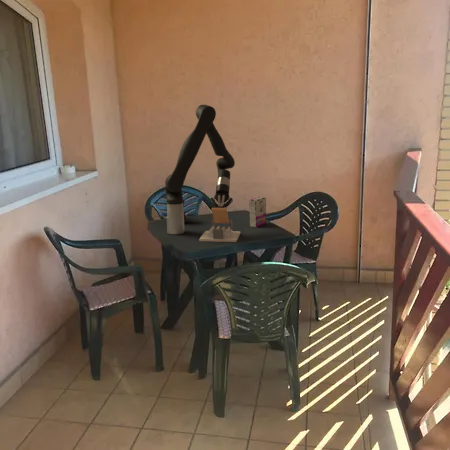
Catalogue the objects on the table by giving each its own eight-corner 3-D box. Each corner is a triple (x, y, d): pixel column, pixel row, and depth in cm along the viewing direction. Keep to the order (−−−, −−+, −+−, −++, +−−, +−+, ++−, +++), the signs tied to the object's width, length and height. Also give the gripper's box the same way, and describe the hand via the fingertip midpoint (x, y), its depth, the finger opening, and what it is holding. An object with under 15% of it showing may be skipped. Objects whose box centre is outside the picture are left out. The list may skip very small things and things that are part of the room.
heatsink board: (199, 241, 265) (198, 226, 264) (205, 232, 282) (205, 219, 280) (236, 242, 262) (235, 227, 260) (240, 233, 278) (240, 219, 277)
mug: (166, 219, 317) (165, 196, 313) (183, 217, 320) (182, 194, 316) (171, 225, 300) (169, 201, 296) (189, 223, 303) (188, 199, 299)
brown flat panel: (214, 223, 277) (211, 209, 266) (215, 221, 277) (211, 207, 267) (228, 223, 275) (226, 209, 265) (229, 222, 276) (226, 207, 266)
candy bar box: (259, 222, 302) (259, 196, 298) (266, 223, 299) (266, 197, 295) (249, 226, 293) (248, 199, 289) (256, 227, 290) (256, 200, 286)
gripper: (210, 183, 276) (207, 209, 268) (233, 183, 274) (231, 210, 266) (212, 190, 283) (209, 216, 275) (235, 190, 281) (233, 217, 273)
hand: (220, 213), depth 270 cm, fingers closed
